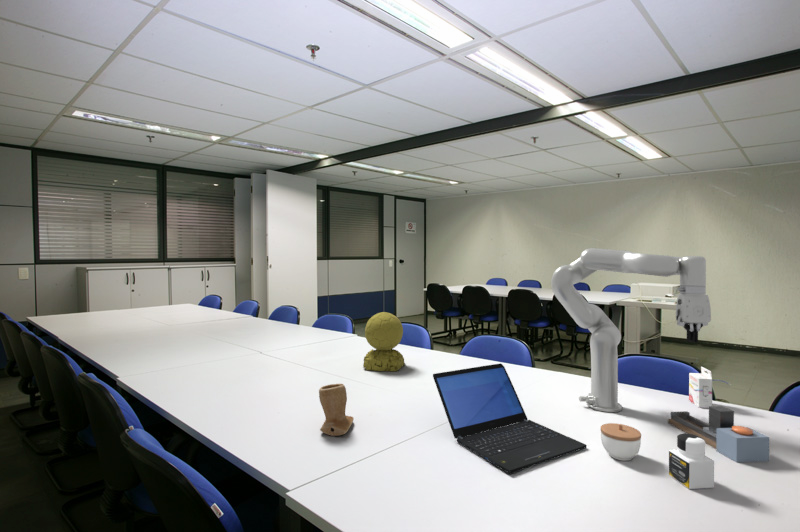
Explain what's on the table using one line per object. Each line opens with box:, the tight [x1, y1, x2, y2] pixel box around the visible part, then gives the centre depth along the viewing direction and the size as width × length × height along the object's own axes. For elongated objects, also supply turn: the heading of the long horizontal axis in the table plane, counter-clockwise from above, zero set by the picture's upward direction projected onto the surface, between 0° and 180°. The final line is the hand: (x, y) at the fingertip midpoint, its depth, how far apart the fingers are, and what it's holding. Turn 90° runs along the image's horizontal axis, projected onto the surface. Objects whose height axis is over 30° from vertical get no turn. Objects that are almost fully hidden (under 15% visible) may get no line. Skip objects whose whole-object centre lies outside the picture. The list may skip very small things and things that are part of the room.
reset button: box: [732, 425, 754, 436], centre depth 123 cm, size 5×5×4 cm
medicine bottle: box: [668, 432, 715, 490], centre depth 108 cm, size 7×7×12 cm
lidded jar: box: [600, 422, 642, 462], centre depth 123 cm, size 11×11×9 cm
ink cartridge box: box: [688, 366, 713, 409], centre depth 166 cm, size 9×5×15 cm, turn 168°
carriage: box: [703, 405, 735, 438], centre depth 130 cm, size 7×6×10 cm
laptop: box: [432, 363, 587, 474], centre depth 136 cm, size 33×38×19 cm
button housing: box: [715, 427, 770, 463], centre depth 123 cm, size 10×7×7 cm
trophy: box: [362, 311, 405, 372], centre depth 227 cm, size 22×22×30 cm
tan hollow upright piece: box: [318, 383, 354, 437], centre depth 144 cm, size 15×12×15 cm
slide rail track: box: [667, 410, 716, 450], centre depth 137 cm, size 8×22×4 cm, turn 3°
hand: (692, 342), depth 147 cm, fingers closed
